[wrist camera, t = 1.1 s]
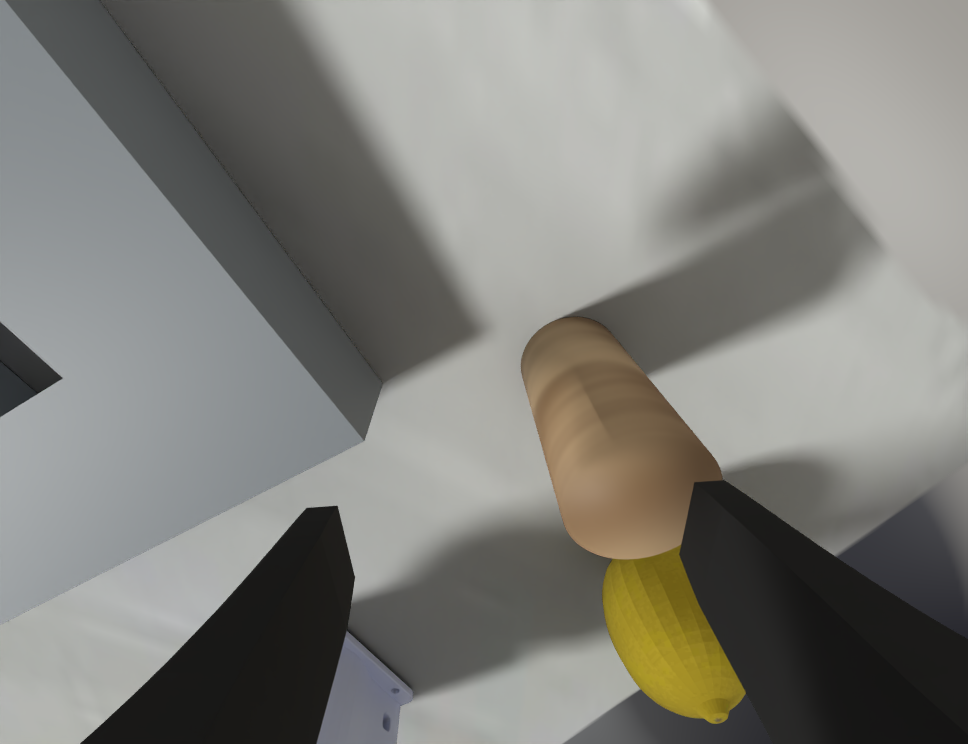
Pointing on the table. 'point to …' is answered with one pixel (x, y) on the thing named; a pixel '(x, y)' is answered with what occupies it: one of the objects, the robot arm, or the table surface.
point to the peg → (611, 442)
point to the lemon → (668, 637)
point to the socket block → (140, 317)
